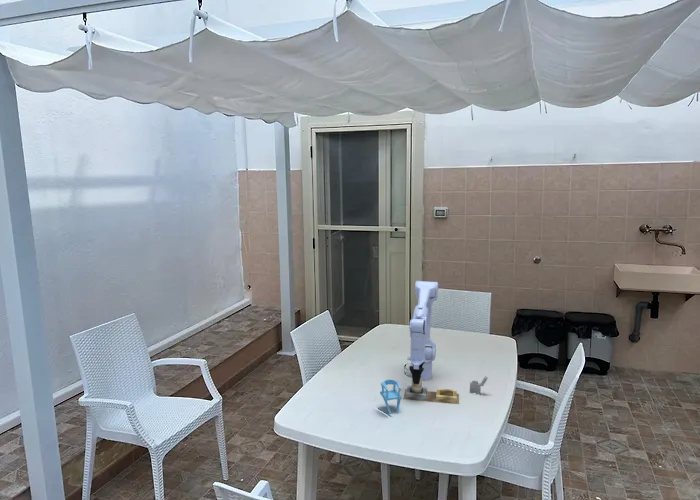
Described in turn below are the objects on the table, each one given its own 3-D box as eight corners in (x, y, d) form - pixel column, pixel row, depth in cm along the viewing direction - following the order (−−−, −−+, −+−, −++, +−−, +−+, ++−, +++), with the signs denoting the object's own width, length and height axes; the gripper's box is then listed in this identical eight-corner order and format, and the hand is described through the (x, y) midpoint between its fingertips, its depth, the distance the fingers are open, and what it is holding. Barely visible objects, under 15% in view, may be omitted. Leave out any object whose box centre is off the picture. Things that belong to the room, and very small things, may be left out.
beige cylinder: (409, 394, 205) (409, 375, 204) (416, 392, 207) (417, 373, 206) (415, 398, 202) (416, 379, 201) (423, 395, 204) (423, 377, 203)
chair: (384, 417, 187) (385, 387, 185) (377, 408, 195) (377, 378, 193) (404, 415, 189) (404, 385, 188) (395, 405, 197) (396, 376, 195)
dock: (402, 401, 201) (403, 394, 200) (405, 391, 211) (405, 384, 210) (459, 406, 197) (459, 399, 196) (458, 396, 206) (459, 389, 206)
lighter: (469, 392, 210) (470, 374, 209) (470, 391, 211) (471, 373, 210) (486, 396, 206) (487, 377, 205) (487, 394, 208) (488, 376, 207)
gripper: (409, 341, 210) (408, 372, 212) (406, 352, 196) (405, 386, 197) (426, 342, 208) (425, 374, 210) (424, 354, 194) (423, 387, 196)
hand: (416, 380), depth 204 cm, fingers open, 7 cm apart
